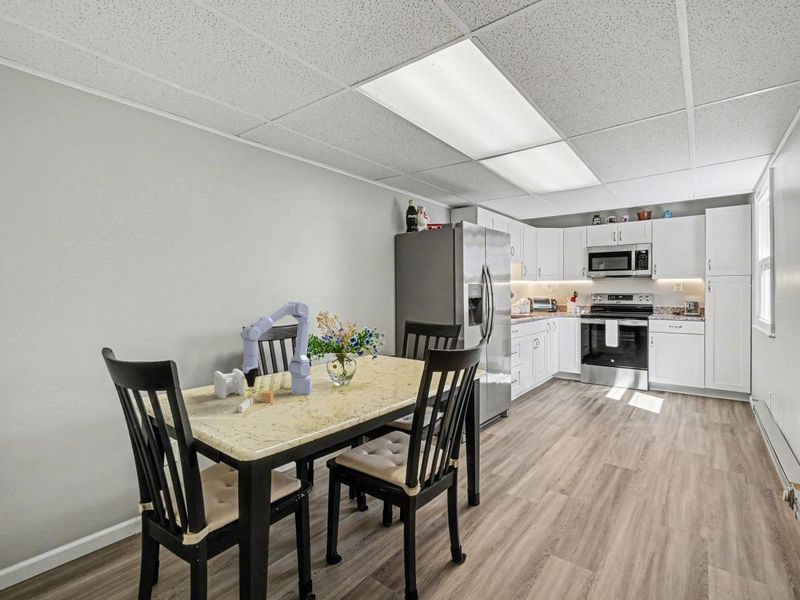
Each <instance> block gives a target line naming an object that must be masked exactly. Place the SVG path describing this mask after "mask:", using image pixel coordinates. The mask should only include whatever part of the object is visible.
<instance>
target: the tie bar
mask: <svg viewBox="0 0 800 600" xmlns="http://www.w3.org/2000/svg"><path fill="white" fill-rule="evenodd" d="M252 405H254V398H253V397H246V398H245V400H244V401H243V402H242V403H240V404H239V405H238V409H237V410H238V412H237V413H244V412H245V411H246V410H247V409H248V408H249V407H250V406H252Z"/></svg>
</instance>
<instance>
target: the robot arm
mask: <svg viewBox="0 0 800 600" xmlns="http://www.w3.org/2000/svg"><path fill="white" fill-rule="evenodd" d="M289 315H290V316H291V317H293V318H294V319H295V320H296V321H297V330H296V331H297V333H296V341H295V348H294V349H295V350H294V355H293V356H292V357H291V358H290V362H289V364H288V367H287V368H288V372H289V374H290V376H291V382H290V383H291V392H290V393H291V394H292V395H300V396H301V395H312V392H313V377H312V375H309V374H310V372H311V365H310V359H309V358H308V356H307V354H308V345H309V338H310V337H309V336H310V328H311V315H310V306H309V305H308V303H306V302H305V301H292V300H291V301H288V302H287V303H285V304H284V305H283V306H281V307H280V308H279V309H277V310H276V311H274V313H272V314H271V315H269V316H261V317H259V318H258V319H259V320H257V321H255V322H254V323H250V326H245V327H244V328H242V331H241V333H240V337H241V339H242V340H243V342H242V343H243V346H242V347H243V348H242V349H243V364H241V365H240V368H242V372H243V374H244V379H245V381H246V384H247V387H248V388H253V387H255V383H256V378H257V375H258V373H259V371H260V369H259V368H258V367H259V351H258V346H259V345H258V341H259V339H260V337H261V335H262V334H264V333H266V332H267V331H269V330H271V329H272V328H273V325H274V323H276V322H277V321H280V320H281V319H282V318H284V317H286V316H289Z"/></svg>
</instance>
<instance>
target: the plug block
mask: <svg viewBox="0 0 800 600" xmlns="http://www.w3.org/2000/svg"><path fill="white" fill-rule="evenodd" d="M260 395H261V403H271V402H273V400H274V390H264V391H262V392H261V394H260Z"/></svg>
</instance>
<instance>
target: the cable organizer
mask: <svg viewBox="0 0 800 600" xmlns="http://www.w3.org/2000/svg"><path fill="white" fill-rule="evenodd" d="M213 378H214V379H213V382H214V383H213V384H214V386H213V388H214V389H213V390H214V394H215V396H218V397H219V398H220V399H221V400H223V399H224V400H225V399H227V396H228V397H229V395H230V394H234V395H239V396H244V395H245V376H244V374H243V370H242V371H241V370H240V369H238V368H233V369H232V372H231V373H223V372H221V371H219V370H216V371H214V372H213Z"/></svg>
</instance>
